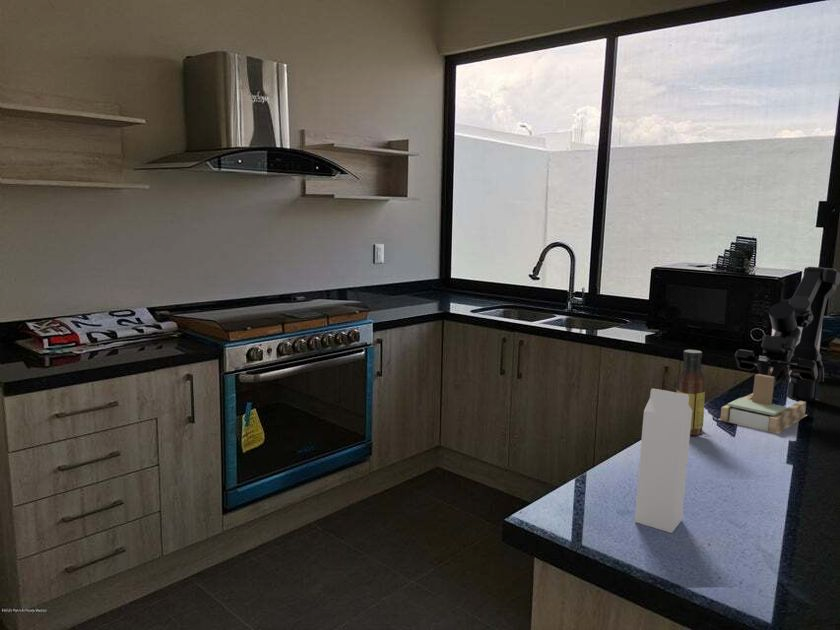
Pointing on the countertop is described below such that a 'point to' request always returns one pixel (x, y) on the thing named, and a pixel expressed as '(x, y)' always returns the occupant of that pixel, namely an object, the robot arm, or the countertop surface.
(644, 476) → the milk
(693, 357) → the sauce bottle
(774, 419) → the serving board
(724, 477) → the countertop surface
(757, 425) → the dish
